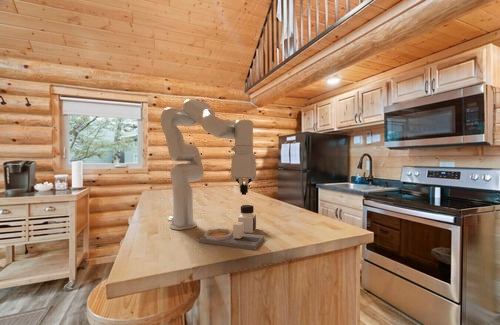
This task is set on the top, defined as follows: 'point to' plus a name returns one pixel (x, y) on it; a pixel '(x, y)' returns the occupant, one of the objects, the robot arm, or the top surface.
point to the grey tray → (231, 239)
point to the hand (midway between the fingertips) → (244, 194)
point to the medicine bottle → (248, 218)
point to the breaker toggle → (238, 230)
